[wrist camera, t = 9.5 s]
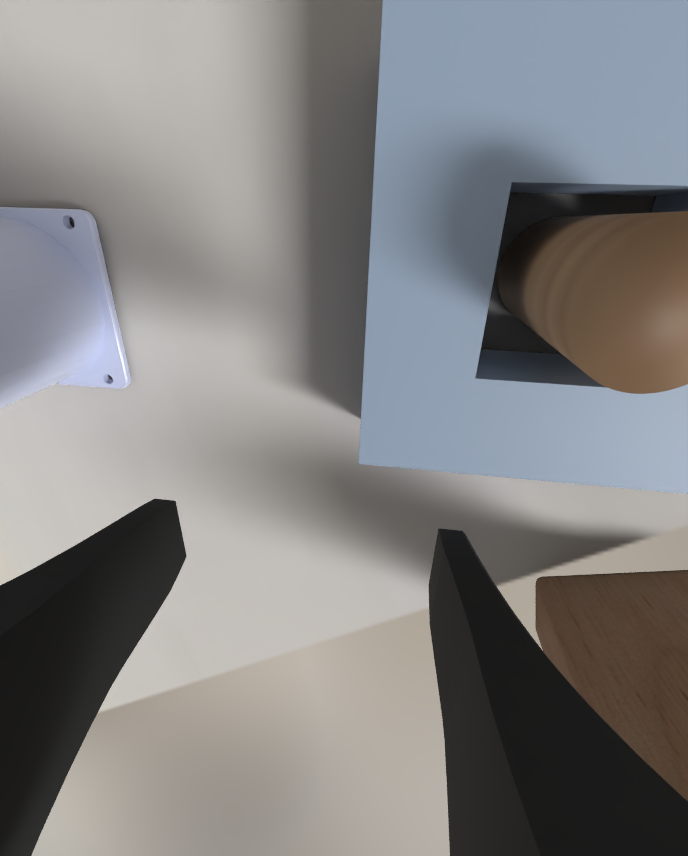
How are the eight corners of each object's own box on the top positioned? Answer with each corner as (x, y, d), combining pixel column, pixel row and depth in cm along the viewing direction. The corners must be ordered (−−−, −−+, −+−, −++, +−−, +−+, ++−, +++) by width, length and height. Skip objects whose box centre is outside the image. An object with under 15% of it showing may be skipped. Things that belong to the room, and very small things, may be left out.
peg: (493, 325, 17) (556, 394, 10) (503, 221, 16) (587, 218, 9) (593, 321, 17) (733, 392, 10) (615, 212, 15) (806, 202, 8)
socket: (366, 421, 20) (358, 464, 17) (387, 53, 14) (382, -5, 10) (666, 446, 19) (728, 497, 15) (844, 48, 12) (1021, -21, 9)
